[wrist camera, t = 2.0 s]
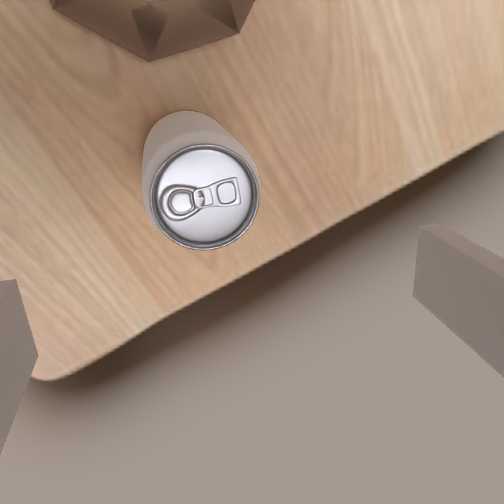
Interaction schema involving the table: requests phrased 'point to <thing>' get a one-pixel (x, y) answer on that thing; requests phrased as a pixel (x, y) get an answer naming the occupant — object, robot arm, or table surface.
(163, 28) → the brown octagonal frame
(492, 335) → the robot arm
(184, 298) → the table surface
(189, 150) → the can
